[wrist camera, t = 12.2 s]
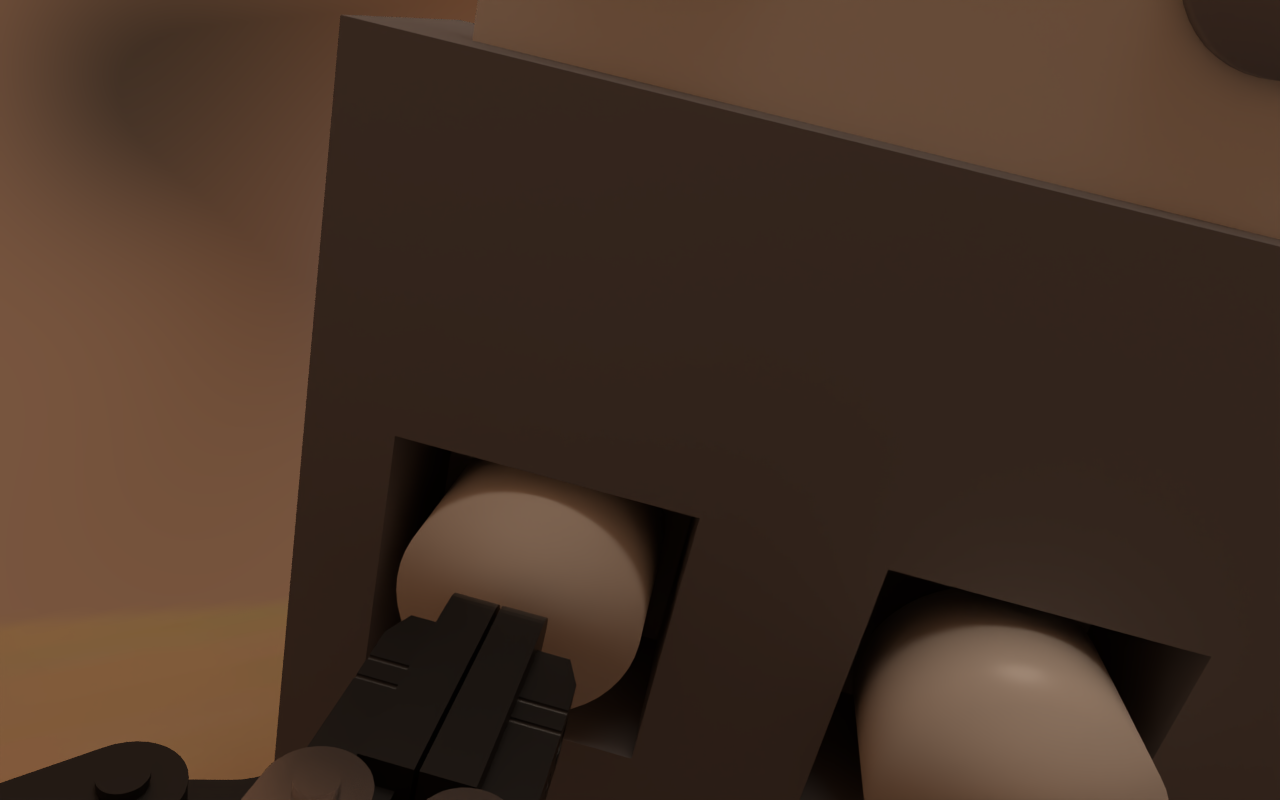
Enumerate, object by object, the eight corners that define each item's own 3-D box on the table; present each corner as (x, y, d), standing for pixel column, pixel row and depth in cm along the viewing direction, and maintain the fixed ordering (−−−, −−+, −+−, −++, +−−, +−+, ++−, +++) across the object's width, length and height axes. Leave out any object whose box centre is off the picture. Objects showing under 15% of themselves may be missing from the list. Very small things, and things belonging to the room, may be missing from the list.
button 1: (638, 637, 19) (687, 457, 17) (612, 741, 16) (668, 537, 15) (441, 583, 19) (471, 400, 18) (383, 675, 16) (412, 467, 15)
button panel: (1235, 1004, 25) (1720, 324, 17) (1425, 1413, 17) (2412, 538, 10) (377, 756, 26) (484, 21, 19) (216, 1040, 19) (286, 12, 11)
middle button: (1048, 809, 17) (1145, 624, 15) (1098, 960, 14) (1224, 753, 13) (823, 746, 17) (896, 558, 16) (830, 882, 14) (920, 669, 13)
